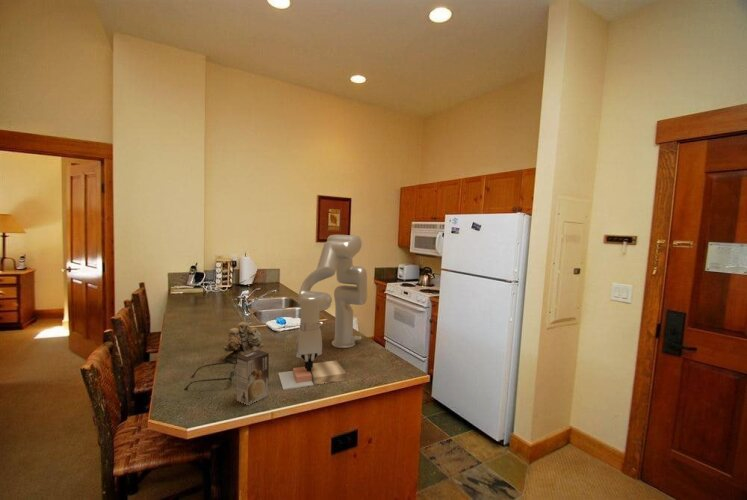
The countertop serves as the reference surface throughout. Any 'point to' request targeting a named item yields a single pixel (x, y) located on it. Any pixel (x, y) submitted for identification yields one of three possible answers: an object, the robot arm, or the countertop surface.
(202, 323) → the countertop surface
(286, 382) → the mat
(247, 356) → the coffee box
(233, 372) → the sunglasses
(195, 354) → the countertop surface
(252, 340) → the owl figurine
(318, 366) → the plate
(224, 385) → the countertop surface
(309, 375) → the salmon pink rectangular block
